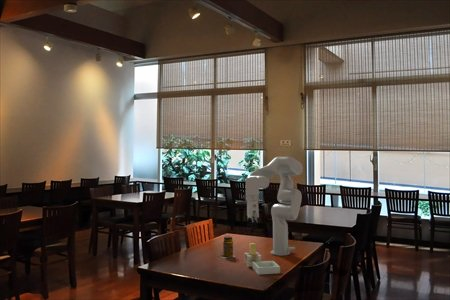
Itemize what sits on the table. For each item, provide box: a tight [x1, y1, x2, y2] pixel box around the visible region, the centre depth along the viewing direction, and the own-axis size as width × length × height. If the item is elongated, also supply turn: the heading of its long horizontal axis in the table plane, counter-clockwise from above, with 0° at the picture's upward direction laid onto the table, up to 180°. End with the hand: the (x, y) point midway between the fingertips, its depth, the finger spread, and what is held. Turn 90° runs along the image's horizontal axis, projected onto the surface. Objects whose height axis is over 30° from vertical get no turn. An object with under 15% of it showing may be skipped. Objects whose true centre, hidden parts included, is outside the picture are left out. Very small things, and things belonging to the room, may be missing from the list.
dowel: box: [249, 242, 257, 255], centre depth 228 cm, size 4×4×12 cm
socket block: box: [243, 251, 262, 268], centre depth 228 cm, size 8×8×6 cm
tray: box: [252, 260, 281, 276], centre depth 216 cm, size 12×12×4 cm
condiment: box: [218, 236, 236, 259], centre depth 247 cm, size 7×8×12 cm
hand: (252, 227), depth 228 cm, fingers open, 9 cm apart
